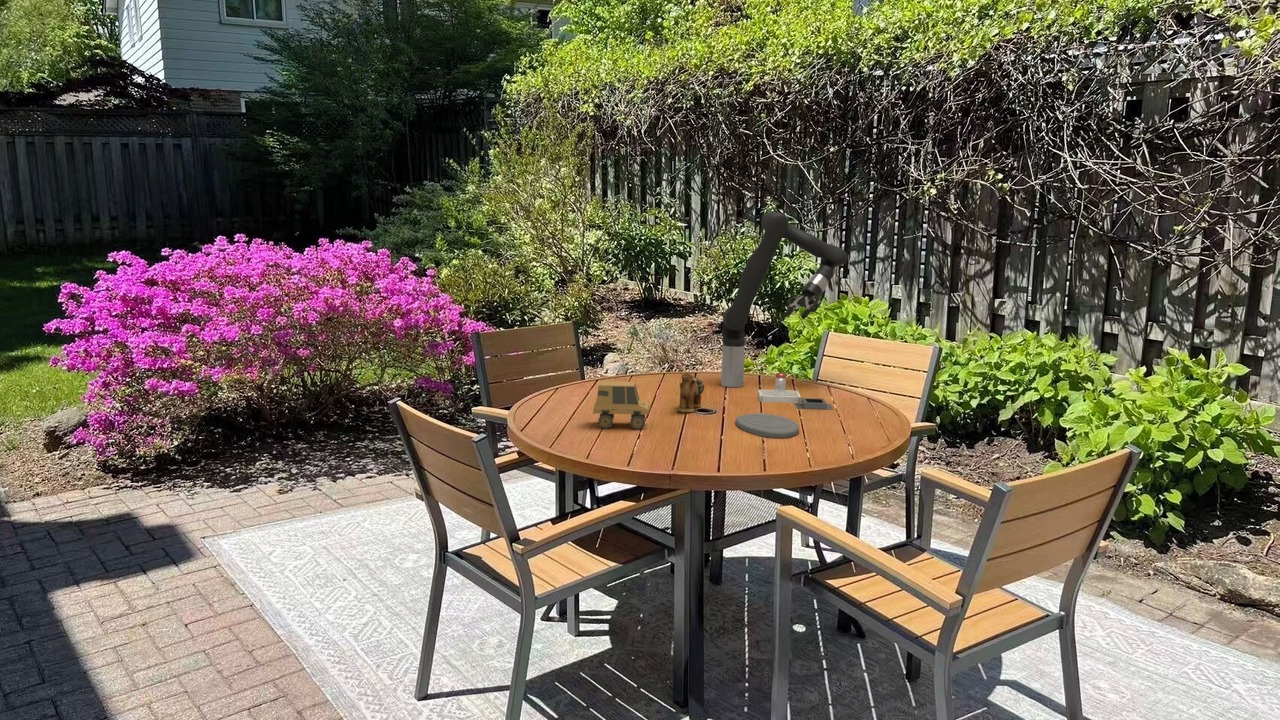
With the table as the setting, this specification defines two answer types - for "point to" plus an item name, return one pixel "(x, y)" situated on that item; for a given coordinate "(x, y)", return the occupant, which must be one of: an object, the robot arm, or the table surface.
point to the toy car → (620, 403)
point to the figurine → (690, 393)
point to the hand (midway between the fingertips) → (794, 316)
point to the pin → (780, 384)
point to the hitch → (813, 404)
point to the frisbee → (768, 425)
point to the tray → (788, 398)
